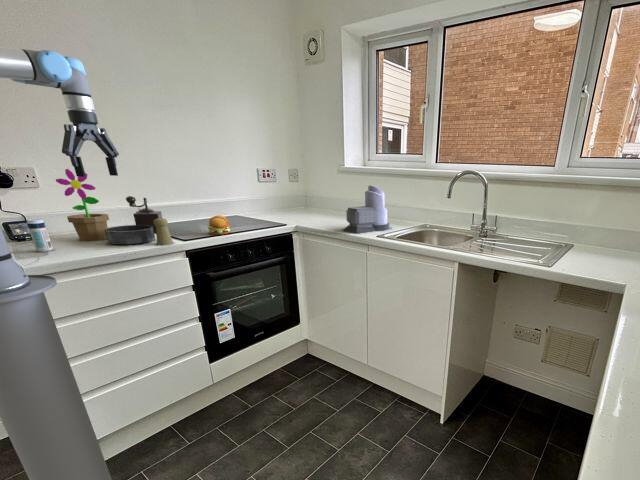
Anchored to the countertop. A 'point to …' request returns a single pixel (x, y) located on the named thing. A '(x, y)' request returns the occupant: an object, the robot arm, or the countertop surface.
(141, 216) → the brown coffee grinder
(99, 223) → the flowerpot
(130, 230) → the dark grey shallow bowl
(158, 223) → the cork
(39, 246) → the white cylindrical container
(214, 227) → the cheeseburger
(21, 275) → the robot arm
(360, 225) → the juicer
